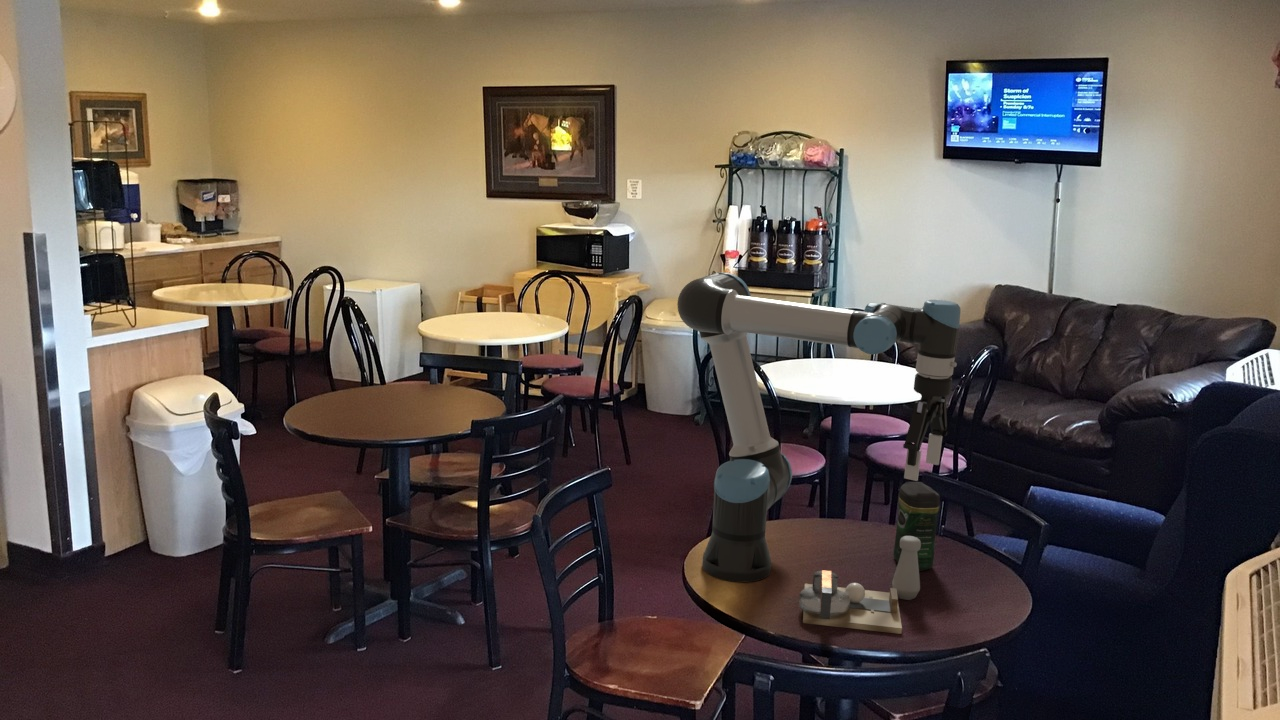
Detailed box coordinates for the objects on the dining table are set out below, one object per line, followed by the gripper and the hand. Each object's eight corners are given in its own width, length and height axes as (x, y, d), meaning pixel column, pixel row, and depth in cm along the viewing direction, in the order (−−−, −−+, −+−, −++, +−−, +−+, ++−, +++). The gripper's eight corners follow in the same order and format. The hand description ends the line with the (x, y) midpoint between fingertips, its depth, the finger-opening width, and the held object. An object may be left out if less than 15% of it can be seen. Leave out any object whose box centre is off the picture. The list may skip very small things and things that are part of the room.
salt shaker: (898, 587, 224) (904, 530, 221) (923, 595, 221) (929, 537, 218) (886, 595, 220) (891, 538, 217) (911, 604, 216) (917, 545, 213)
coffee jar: (937, 571, 233) (946, 493, 229) (903, 572, 232) (911, 493, 228) (921, 554, 242) (929, 478, 238) (888, 555, 241) (895, 478, 237)
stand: (802, 622, 206) (804, 603, 205) (804, 588, 222) (805, 570, 221) (901, 633, 203) (903, 614, 202) (896, 598, 219) (897, 580, 218)
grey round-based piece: (797, 625, 202) (800, 590, 200) (799, 590, 217) (802, 557, 216) (850, 631, 200) (853, 595, 198) (848, 595, 216) (851, 562, 214)
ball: (844, 604, 211) (846, 586, 211) (844, 596, 215) (845, 578, 214) (864, 607, 211) (866, 588, 210) (863, 598, 215) (865, 580, 214)
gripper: (932, 388, 206) (919, 490, 210) (969, 368, 226) (957, 461, 231) (895, 381, 210) (883, 481, 214) (935, 361, 230) (924, 453, 235)
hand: (921, 471), depth 223 cm, fingers open, 13 cm apart
